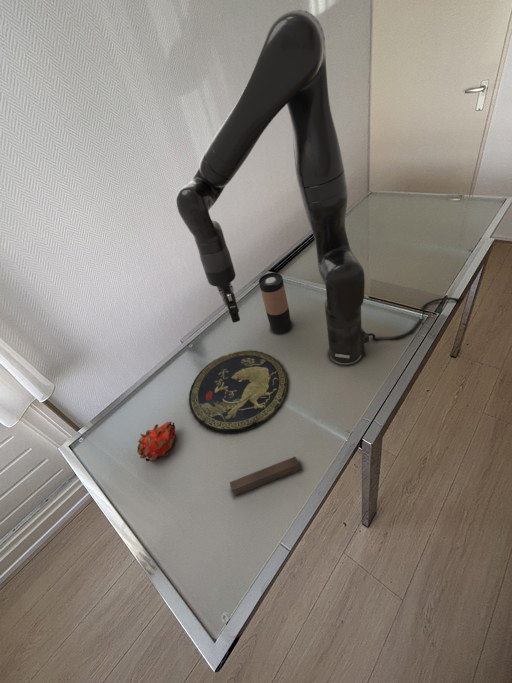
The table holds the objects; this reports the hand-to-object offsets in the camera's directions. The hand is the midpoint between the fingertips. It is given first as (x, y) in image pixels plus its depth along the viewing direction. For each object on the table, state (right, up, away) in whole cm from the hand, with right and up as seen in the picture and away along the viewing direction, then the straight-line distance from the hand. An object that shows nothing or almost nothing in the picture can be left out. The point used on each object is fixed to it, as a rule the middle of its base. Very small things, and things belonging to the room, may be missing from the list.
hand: (232, 313), depth 93 cm
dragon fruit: (-18, -37, -6) cm, 42 cm away
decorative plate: (+1, -23, +3) cm, 23 cm away
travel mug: (+16, -3, +19) cm, 25 cm away
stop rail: (+9, -40, -19) cm, 45 cm away
